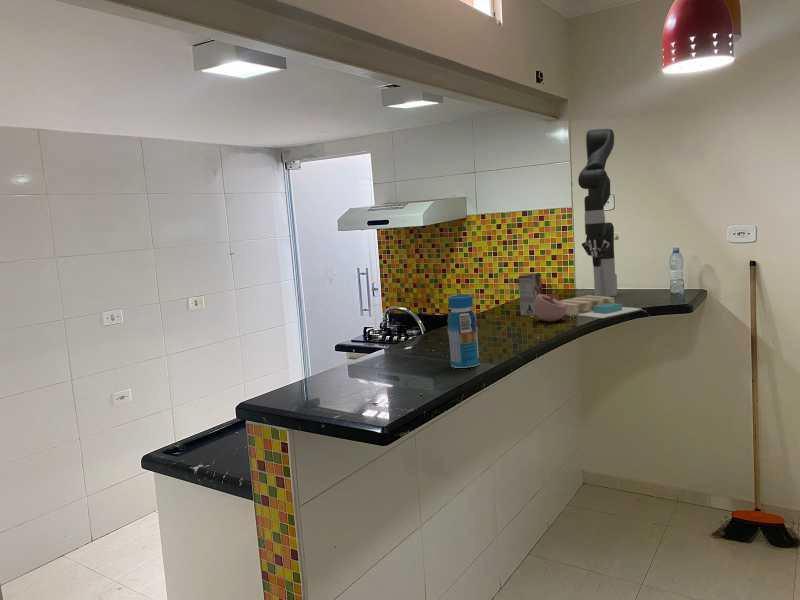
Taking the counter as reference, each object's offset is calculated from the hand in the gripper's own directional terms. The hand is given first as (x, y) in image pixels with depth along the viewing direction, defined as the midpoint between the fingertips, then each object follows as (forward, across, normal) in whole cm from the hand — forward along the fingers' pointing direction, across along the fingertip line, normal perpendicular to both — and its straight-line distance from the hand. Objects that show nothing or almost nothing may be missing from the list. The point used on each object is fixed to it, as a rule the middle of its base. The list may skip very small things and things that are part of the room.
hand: (596, 266), depth 239 cm
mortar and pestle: (+18, 0, +26) cm, 31 cm away
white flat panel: (+18, -6, +1) cm, 19 cm away
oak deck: (+18, +8, +1) cm, 19 cm away
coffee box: (+18, +19, +18) cm, 32 cm away
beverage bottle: (+17, -30, +88) cm, 94 cm away
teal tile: (+16, -5, +1) cm, 17 cm away
